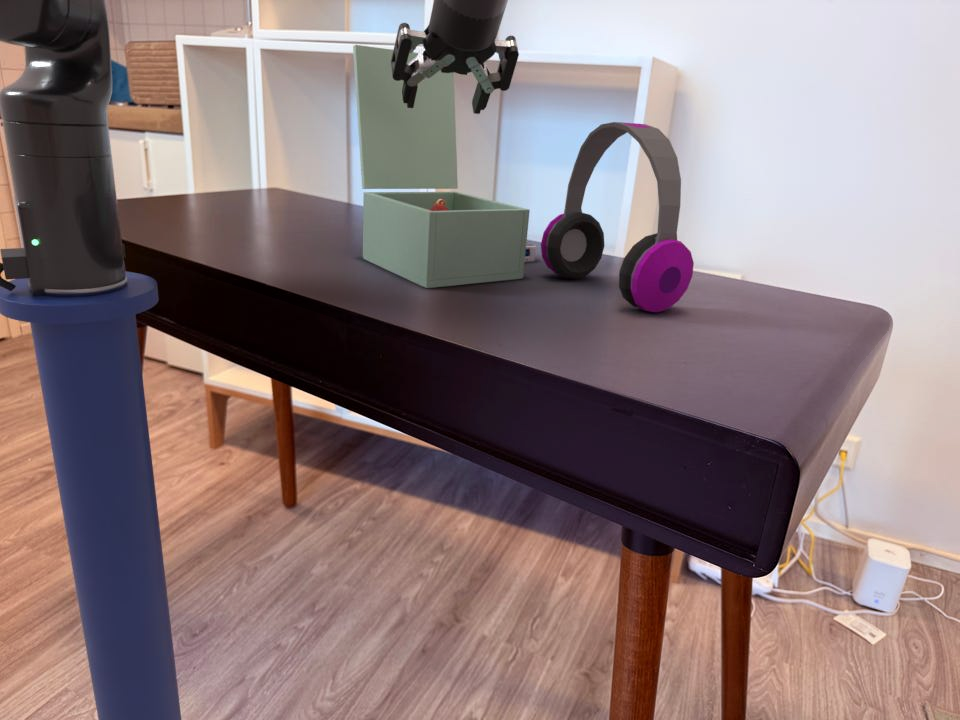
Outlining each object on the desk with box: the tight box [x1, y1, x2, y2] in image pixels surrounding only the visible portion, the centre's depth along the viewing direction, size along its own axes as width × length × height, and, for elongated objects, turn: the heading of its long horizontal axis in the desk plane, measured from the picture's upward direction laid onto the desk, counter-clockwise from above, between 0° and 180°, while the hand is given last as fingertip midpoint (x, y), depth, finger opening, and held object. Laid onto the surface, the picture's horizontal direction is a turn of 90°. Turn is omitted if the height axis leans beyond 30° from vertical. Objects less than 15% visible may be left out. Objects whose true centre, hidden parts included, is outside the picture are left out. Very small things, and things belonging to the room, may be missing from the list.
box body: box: [362, 191, 531, 289], centre depth 87 cm, size 17×15×9 cm
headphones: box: [540, 121, 695, 313], centre depth 79 cm, size 21×9×20 cm, turn 28°
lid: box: [352, 44, 459, 190], centre depth 91 cm, size 18×15×4 cm
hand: (443, 106), depth 84 cm, fingers open, 8 cm apart
